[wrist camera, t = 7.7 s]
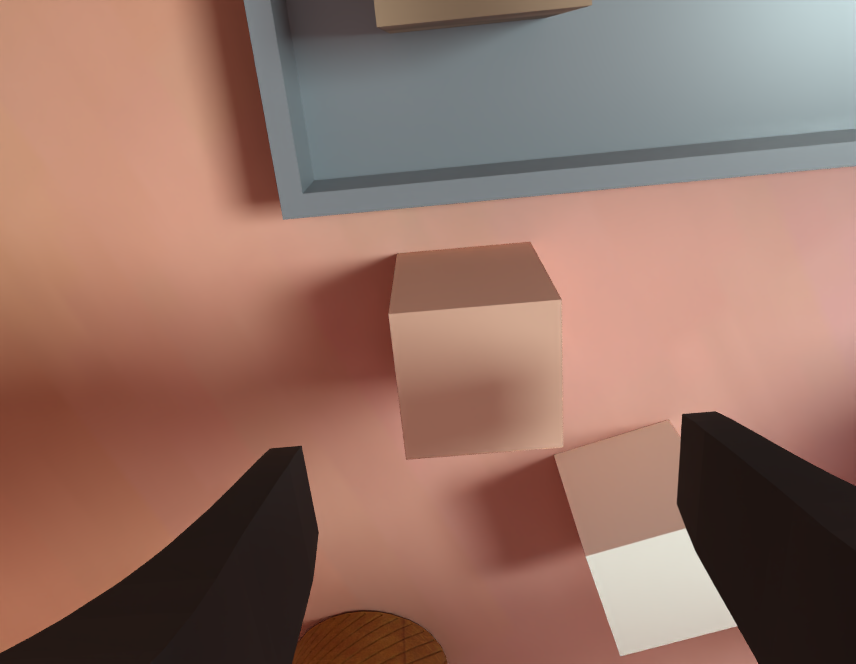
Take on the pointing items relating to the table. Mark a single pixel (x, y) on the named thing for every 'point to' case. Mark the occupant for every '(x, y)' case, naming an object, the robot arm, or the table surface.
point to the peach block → (477, 351)
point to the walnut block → (464, 12)
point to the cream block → (640, 539)
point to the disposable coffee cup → (368, 641)
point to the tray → (549, 99)
